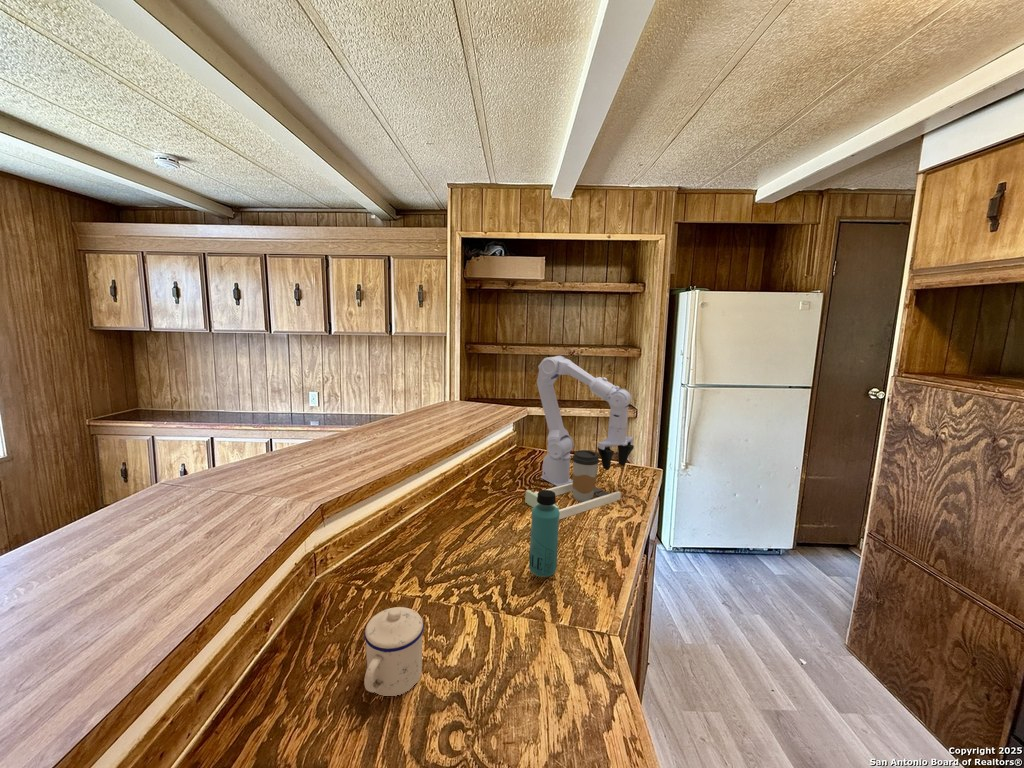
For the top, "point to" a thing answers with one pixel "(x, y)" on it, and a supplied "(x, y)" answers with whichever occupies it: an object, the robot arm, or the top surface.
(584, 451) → the coffee cup
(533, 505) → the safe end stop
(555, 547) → the beverage bottle
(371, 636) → the teacup with lid
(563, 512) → the lane box
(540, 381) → the robot arm
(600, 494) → the trap pits
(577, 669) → the top surface
